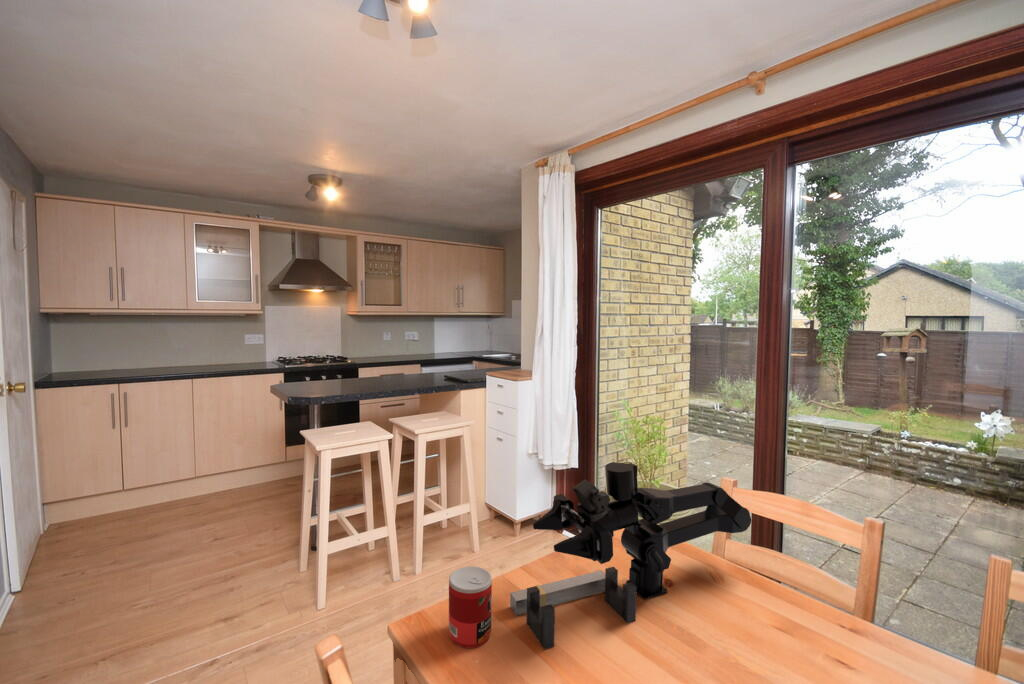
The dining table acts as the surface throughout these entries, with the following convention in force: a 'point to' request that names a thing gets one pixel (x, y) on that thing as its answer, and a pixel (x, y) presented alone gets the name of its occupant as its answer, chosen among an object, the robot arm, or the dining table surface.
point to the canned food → (470, 606)
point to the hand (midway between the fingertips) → (543, 536)
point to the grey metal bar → (561, 591)
